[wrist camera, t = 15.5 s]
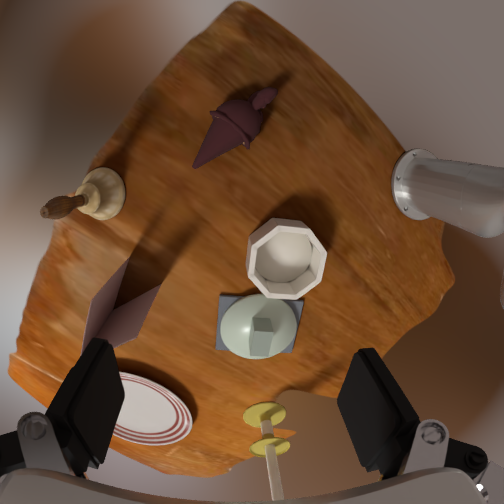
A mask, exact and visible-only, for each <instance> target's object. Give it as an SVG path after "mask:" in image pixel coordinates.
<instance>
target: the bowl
mask: <svg viewBox="0 0 504 504" xmlns="http://www.w3.org/2000/svg"><path fill="white" fill-rule="evenodd" d="M310 242H311V244H312V246H311V244H310ZM326 256H327V252H326V251H325V249H324V248H323V246H322V245H321V243H320V242H319V241H318V239H317V238H316V236H315V235H314V234H313V232H312V231H311V229H310V228H308V227H307V226H306V225H305V224H304V223H303V222H302V221H297V220H289V219H280V218H272V219H270V220H269V221H268V222H266V223H265V224H264V225H262V226H261V227H260V228H259V229H257V230H256V231H255V232H253V233H252V234H251V235H250V236H249V241H248V249H247V257H246V268H247V274H248V277H249V278H250V279H251V281H252V282H253V283H254V284H255V285H256V286H257V287H258V288H259V290H260V291H261V292H262V293H263V294H264V295H265V296H266V297H267V298H275V299H293V300H296V299H298V298H300V297H301V296H302V295H304V294H305V293H306V292H308V291H309V290H310V289H312V288H313V287H315V286H316V285H317V284H319V283H320V281H321V279H322V275H323V270H324V265H325V261H326ZM265 278H266V279H265Z"/></svg>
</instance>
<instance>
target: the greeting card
mask: <svg viewBox="0 0 504 504" xmlns="http://www.w3.org/2000/svg"><path fill="white" fill-rule="evenodd" d="M129 258H130V257H129ZM129 258H128V259H127V260H126V261H125V262H124V263H123V265H122V266H121V267H120V268H119V269H118V270H117V271H116V272H115V273H114V275H113V276H112V277H111V278H110V279H109V280H108V281H107V283H106V284H105V285H104V286H103V287H102V288H101V290H100V291H99V292H98V293H97V294H96V295H95V297H94V298H93V299H92V300H91V304H90V308H89V313H88V318H87V322H86V328H85V333H84V338H83V344H82V350H81V355H82V353H83V352H84V350H85V348H86V347H87V345H88V344H89V342H90V341H91V339H92V338H94V337H95V338H101V339H106V340H108V342H109V344H112V346H113V348H115V347H118V346H120V345H122V344H124V343H126V342H128V341H131V340H133V339H135V338H137V336H138V333H139V331H140V329H141V327H142V325H143V322H144V320H145V318H146V316H147V314H148V311H149V309H150V307H151V305H152V303H153V301H154V299H155V297H156V294H157V292H158V290H159V288H160V286H161V284H160V285H159V286H157V287H155V288H153V289H151V290H149V291H147V292H146V293H144V294H142V295H140V296H138V297H136V298H135V299H133V300H131V301H129V302H127V303H125V304H124V305H122V306H120V307H118V308H116V309H115V310H113V308H114V305H115V301H116V298H117V295H118V291H119V288H120V285H121V282H122V279H123V276H124V273H125V270H126V267H127V264H128V261H129Z"/></svg>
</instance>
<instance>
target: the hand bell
mask: <svg viewBox="0 0 504 504" xmlns="http://www.w3.org/2000/svg"><path fill="white" fill-rule="evenodd" d="M124 201H125V187H124V183H123V181H122V179H121V177H120V176H119V175H118V174H117V173H116V172H115V171H113V170H112V169H109V168H105V167H101V168H97V169H94V170H92V171H91V172H90V173H89V174H88V175H87V176H86V177H85V179H84V181H83V183H82V185H81V186H80V187H79V188H78V189H77V191H76V194H75V196H74V197H68V196H58V197H55V198H53V199H51V200H50V201H49V202H48V203H46V205H45V206H43V207H42V208H41V210H40V214H41V216H42V217H43V218H49V219H60V218H63V217H65V216H66V215H68V214H69V213H70V212H71V211H72V210H73V209H75V208H78V209H79V210H80V211H81V212H82V213H85V214H89V215H90V216H92V217H93V218H96V219H99V220H107V219H110V218H112V217H114V216H115V215H117V214H118V212H119V211H120V210H121V208H122V206H123V204H124Z"/></svg>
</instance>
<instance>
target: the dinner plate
mask: <svg viewBox="0 0 504 504" xmlns="http://www.w3.org/2000/svg"><path fill="white" fill-rule="evenodd" d="M119 373H120V377H121V380H122V384H123V387H124V391H125V399H124V402H123V405H122V408H121V410H120V413H119V416H118V419H117V422H116V425H115V428H114V431H113V435H115V436H117V437H120V438H122V439H124V440H127V441H131V442H134V443H139V444H145V445H166V444H171V443H174V442H177V441H179V440H181V439H183V438H184V437H185V436H187V435H188V433H189V432H190V430H191V428H192V416H191V413H190V411H189V409H188V408H187V406H186V405H185V404H184V402H183V401H182V400H181V399H180V398H179V397H178V396H176V395H175V394H174V393H173V392H171V391H170V390H168V389H167V388H165V387H163V386H162V385H160V384H158V383H156V382H154V381H151V380H149V379H146V378H144V377H141V376H138V375H134V374H130V373H126V372H119Z"/></svg>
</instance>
